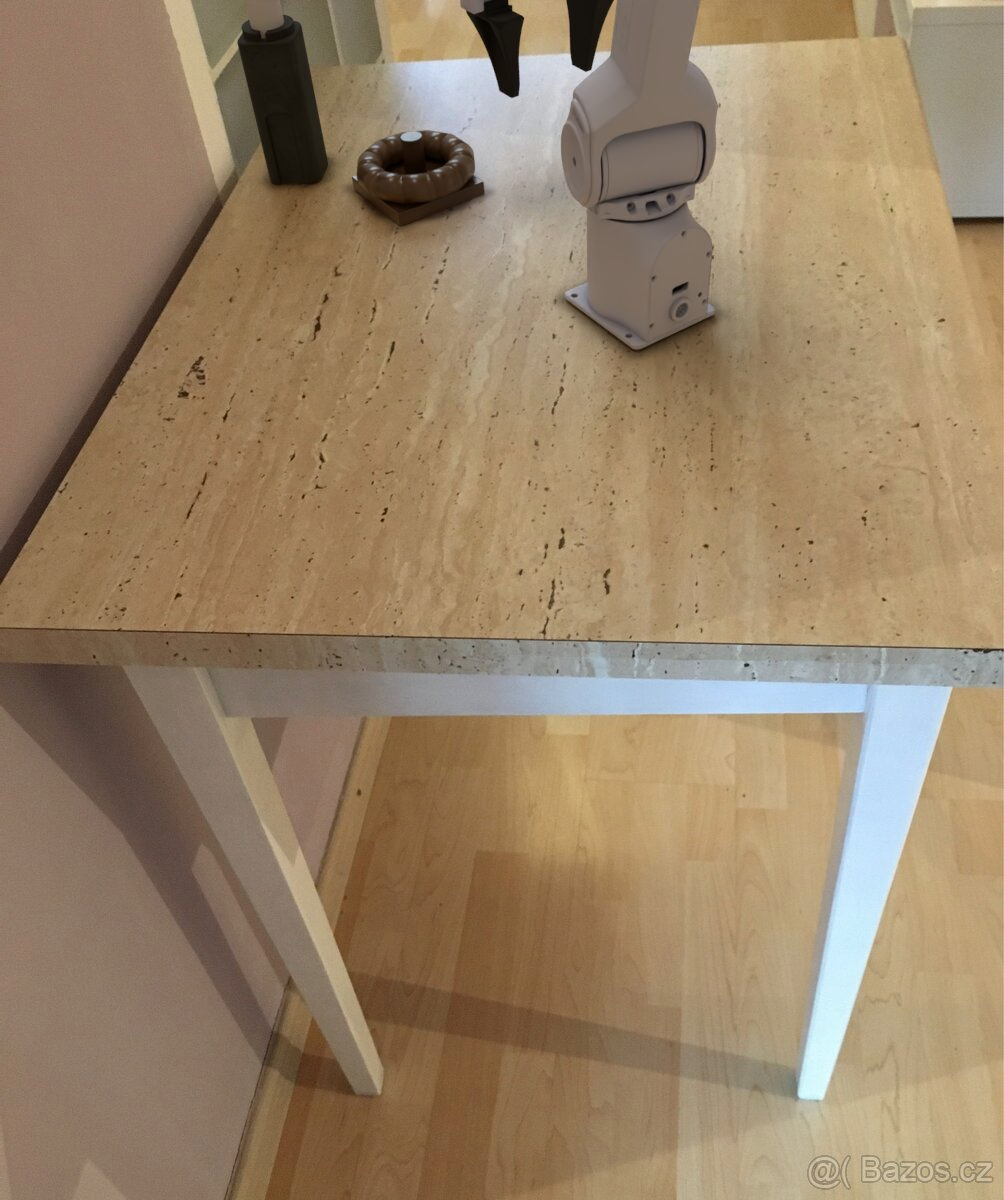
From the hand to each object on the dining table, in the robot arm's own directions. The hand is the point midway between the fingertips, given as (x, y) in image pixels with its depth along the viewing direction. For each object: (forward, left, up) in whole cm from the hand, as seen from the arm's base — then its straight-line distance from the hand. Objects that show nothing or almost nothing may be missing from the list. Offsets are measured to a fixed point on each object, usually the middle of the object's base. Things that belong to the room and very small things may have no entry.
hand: (545, 80), depth 90 cm
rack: (+7, +10, -9) cm, 15 cm away
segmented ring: (+7, +10, -7) cm, 14 cm away
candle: (+18, +17, -10) cm, 27 cm away
